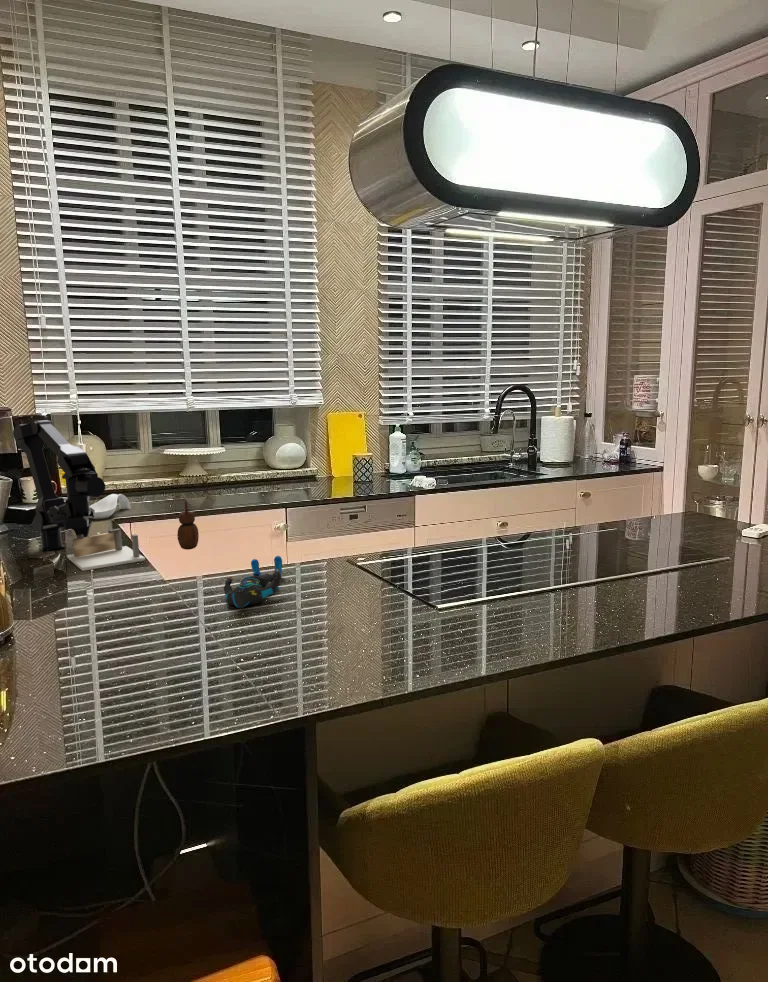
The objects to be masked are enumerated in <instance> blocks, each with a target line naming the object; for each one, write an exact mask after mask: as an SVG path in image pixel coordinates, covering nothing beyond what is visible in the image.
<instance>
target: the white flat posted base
mask: <svg viewBox="0 0 768 982" xmlns="http://www.w3.org/2000/svg"><path fill="white" fill-rule="evenodd" d="M114 540H115V549H113V550H108V551H104V552H99V553H95V554H90V555H85V556H81V557H74V553H72V554H67V555H66V556H67V560H69V561H70V562H72V563H73V564H74V565H75V566H76V567H77V568H78V569H80V570H81V571H82V572H83V571H89V570H95V569H101V568H108V567H114V566H120V565H125V564H132V563H137V562H145V561H146V557H145V556H143V555H142V554H140V548H139V545H140V543H139V535H138V534H136V533H135V534H131V543H132V544H131V545H132V548H131V547H129V546H127V545H125V546H124V545H123V542H122V541H123V540H122V531H119V532H114Z"/></svg>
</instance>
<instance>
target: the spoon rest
mask: <svg viewBox="0 0 768 982" xmlns="http://www.w3.org/2000/svg"><path fill="white" fill-rule="evenodd" d="M117 506H119V509H120V510H131V508H132V507H131V503H130V501H129V499H128V498H127V496H126V495H124V494H122V493H119V494H117V493H111V494H109V495H107V496H105V497H104V498H102V499H100V500H99V501H96V502H95V503H92V504H91V505H89V508H92V509H94V510H95V517H94V518H92V516H89V517H88V518H89V519H93V520H103V519H108V518H110V517H111V516H112V515H113V514H114V513H115V511H116V509H117Z"/></svg>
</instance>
